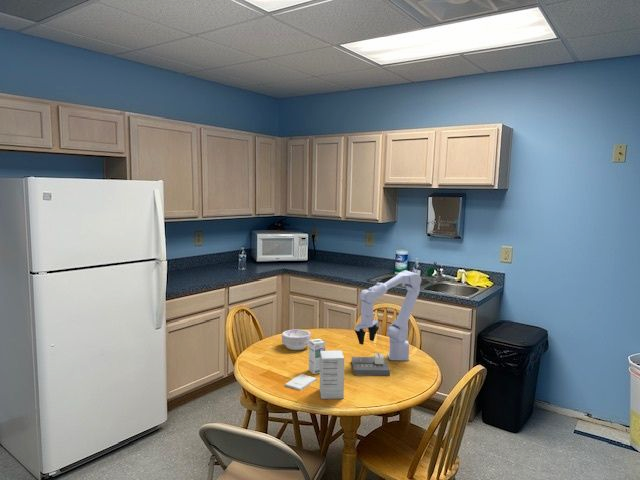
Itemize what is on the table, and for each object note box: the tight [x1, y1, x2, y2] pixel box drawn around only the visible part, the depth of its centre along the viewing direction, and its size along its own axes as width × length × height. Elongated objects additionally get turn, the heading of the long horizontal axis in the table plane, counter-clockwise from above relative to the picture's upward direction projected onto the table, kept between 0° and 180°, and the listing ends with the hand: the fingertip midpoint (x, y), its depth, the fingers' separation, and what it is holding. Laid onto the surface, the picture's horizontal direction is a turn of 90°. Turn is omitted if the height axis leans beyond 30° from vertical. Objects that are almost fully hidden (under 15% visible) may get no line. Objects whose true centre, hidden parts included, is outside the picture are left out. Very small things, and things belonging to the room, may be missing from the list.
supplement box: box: [319, 350, 345, 400], centre depth 180 cm, size 10×9×17 cm
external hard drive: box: [284, 373, 317, 391], centre depth 191 cm, size 2×8×12 cm
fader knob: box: [373, 353, 385, 364], centre depth 208 cm, size 4×5×4 cm
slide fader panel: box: [351, 356, 391, 376], centre depth 208 cm, size 16×16×3 cm
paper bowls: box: [281, 328, 312, 351], centre depth 234 cm, size 15×15×8 cm
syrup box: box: [308, 338, 326, 375], centre depth 203 cm, size 6×6×14 cm
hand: (366, 342), depth 214 cm, fingers open, 7 cm apart
